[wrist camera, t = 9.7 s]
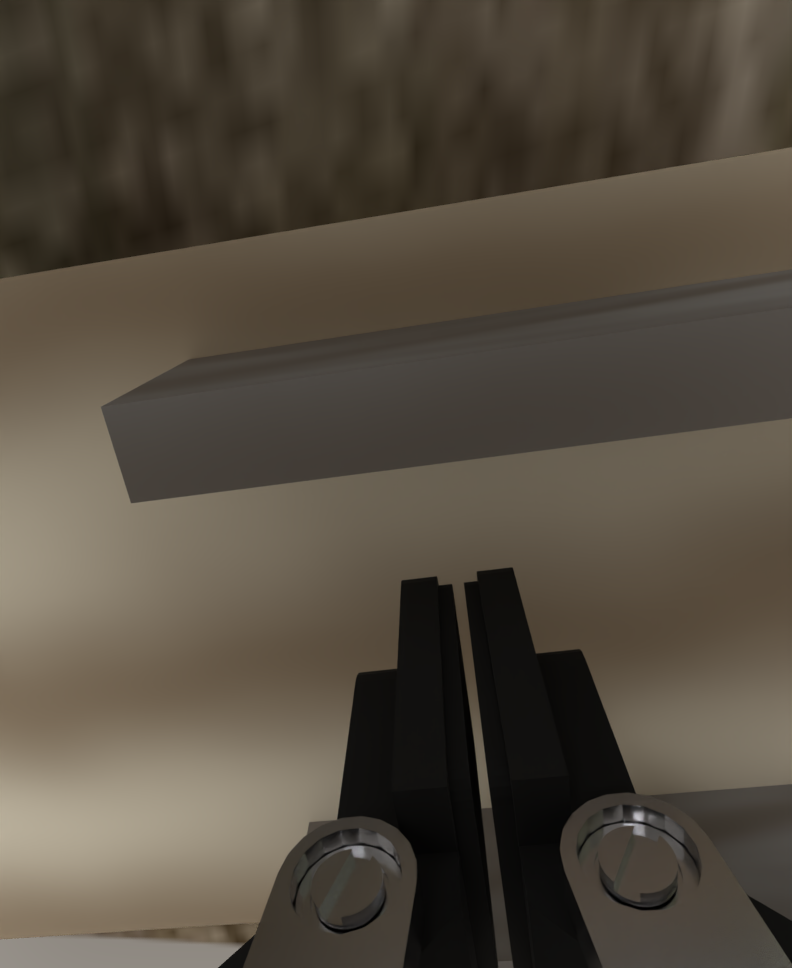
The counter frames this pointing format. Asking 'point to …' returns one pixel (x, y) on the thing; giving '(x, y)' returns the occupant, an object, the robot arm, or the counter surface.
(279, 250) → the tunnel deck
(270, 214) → the counter surface
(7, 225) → the counter surface
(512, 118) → the counter surface
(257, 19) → the counter surface
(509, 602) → the robot arm
